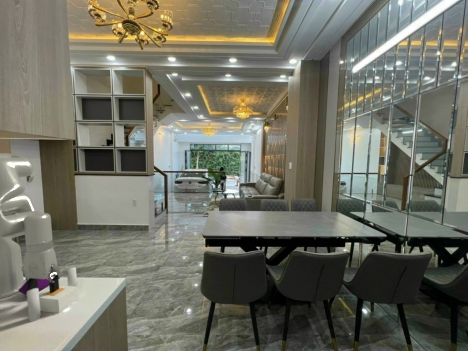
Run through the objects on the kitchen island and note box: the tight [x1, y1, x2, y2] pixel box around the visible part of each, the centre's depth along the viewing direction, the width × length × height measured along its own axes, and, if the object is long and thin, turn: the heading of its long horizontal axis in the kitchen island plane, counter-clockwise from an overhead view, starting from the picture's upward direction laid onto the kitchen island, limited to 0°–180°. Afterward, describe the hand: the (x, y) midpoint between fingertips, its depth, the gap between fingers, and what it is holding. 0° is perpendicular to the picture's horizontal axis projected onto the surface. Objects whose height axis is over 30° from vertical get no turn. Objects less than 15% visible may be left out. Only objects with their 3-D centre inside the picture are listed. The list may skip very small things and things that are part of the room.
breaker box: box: [39, 284, 79, 314], centre depth 83 cm, size 12×8×5 cm, turn 81°
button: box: [45, 288, 64, 296], centre depth 83 cm, size 4×4×4 cm
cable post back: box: [66, 266, 78, 287], centre depth 90 cm, size 3×3×10 cm
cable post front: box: [26, 288, 42, 322], centre depth 75 cm, size 3×3×10 cm
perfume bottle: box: [18, 278, 51, 297], centre depth 90 cm, size 8×8×18 cm
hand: (43, 290), depth 83 cm, fingers open, 9 cm apart
